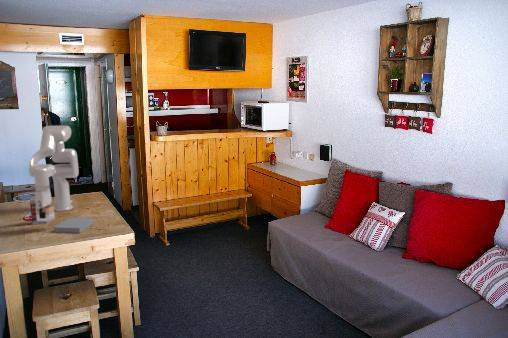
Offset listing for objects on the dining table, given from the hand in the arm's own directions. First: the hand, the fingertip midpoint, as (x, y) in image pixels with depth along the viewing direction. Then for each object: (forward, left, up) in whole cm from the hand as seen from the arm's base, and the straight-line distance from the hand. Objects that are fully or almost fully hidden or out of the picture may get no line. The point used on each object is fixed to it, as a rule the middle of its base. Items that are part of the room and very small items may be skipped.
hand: (45, 216), depth 264 cm
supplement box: (-10, -11, -8) cm, 17 cm away
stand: (-4, +15, -8) cm, 18 cm away
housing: (0, 0, -2) cm, 2 cm away
